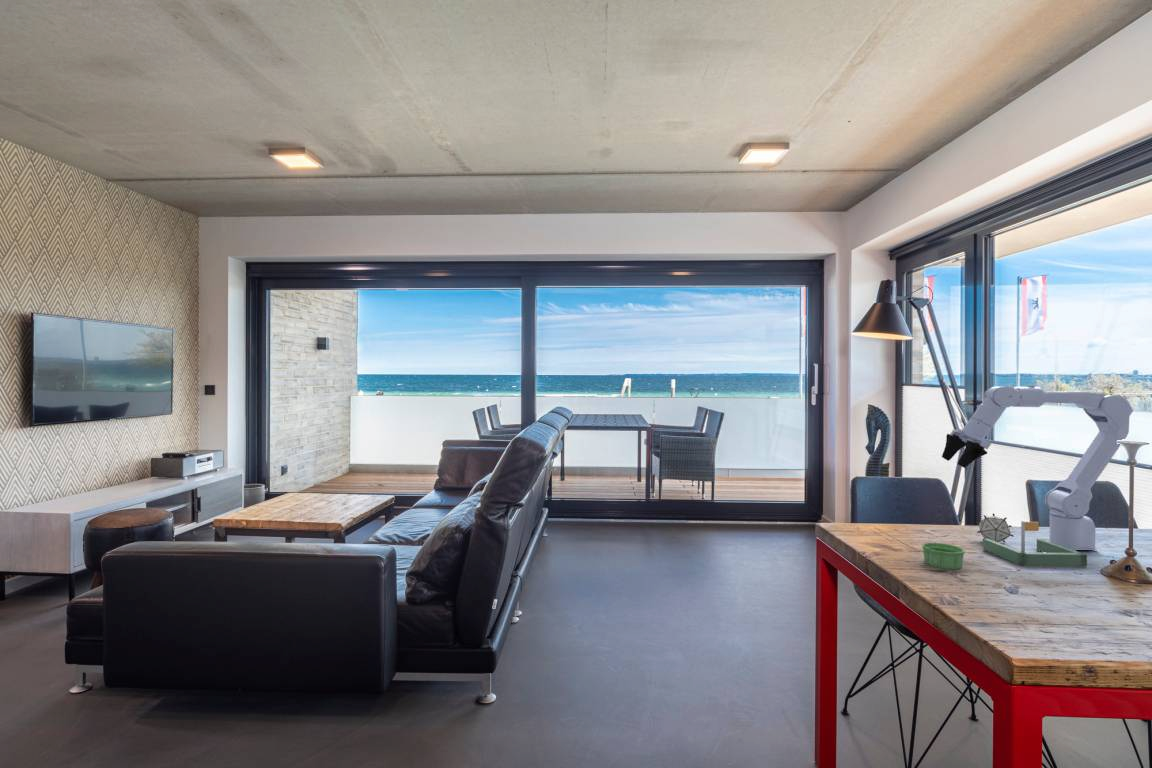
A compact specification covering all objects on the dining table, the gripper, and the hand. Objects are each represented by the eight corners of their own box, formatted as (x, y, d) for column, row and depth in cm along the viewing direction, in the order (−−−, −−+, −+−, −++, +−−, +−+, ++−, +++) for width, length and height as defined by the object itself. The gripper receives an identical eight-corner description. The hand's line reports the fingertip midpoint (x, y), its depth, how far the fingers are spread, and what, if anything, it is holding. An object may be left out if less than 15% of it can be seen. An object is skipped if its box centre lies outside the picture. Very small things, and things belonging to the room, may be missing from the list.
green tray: (1042, 550, 157) (1042, 510, 157) (1086, 566, 143) (1087, 522, 143) (983, 549, 158) (983, 509, 158) (1022, 566, 144) (1022, 522, 144)
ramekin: (971, 571, 140) (971, 553, 140) (930, 569, 141) (930, 551, 141) (954, 560, 148) (954, 543, 148) (916, 558, 150) (916, 541, 150)
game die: (1003, 557, 163) (1028, 534, 158) (974, 546, 163) (999, 522, 158) (990, 534, 171) (1013, 512, 165) (963, 524, 171) (986, 501, 166)
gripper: (954, 411, 172) (927, 449, 174) (986, 421, 158) (956, 462, 160) (973, 423, 173) (946, 460, 175) (1007, 434, 158) (977, 474, 160)
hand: (952, 462), depth 167 cm, fingers open, 7 cm apart
